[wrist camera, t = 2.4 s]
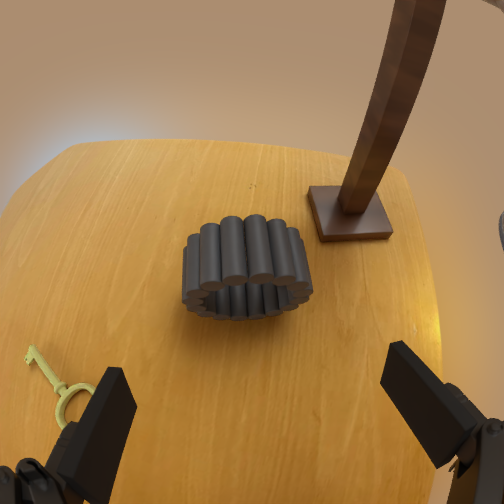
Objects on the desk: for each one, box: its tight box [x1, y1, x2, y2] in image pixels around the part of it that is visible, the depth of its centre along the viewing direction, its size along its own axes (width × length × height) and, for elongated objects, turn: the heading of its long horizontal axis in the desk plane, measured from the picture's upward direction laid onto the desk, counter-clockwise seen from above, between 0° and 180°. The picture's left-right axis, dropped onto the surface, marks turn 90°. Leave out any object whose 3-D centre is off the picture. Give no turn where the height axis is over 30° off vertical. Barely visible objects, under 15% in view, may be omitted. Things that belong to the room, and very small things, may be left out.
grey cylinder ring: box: [182, 214, 313, 321], centre depth 24 cm, size 5×11×11 cm, turn 95°
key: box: [24, 344, 96, 430], centre depth 21 cm, size 7×12×2 cm, turn 72°
